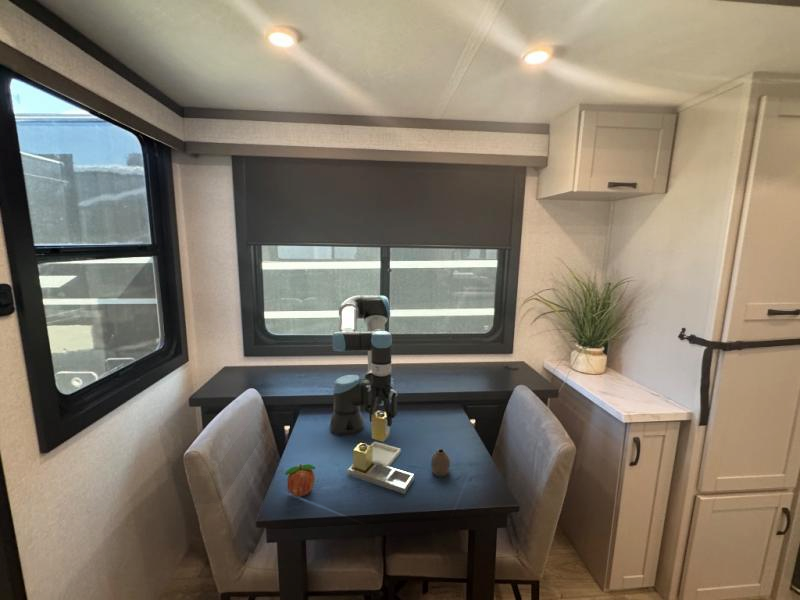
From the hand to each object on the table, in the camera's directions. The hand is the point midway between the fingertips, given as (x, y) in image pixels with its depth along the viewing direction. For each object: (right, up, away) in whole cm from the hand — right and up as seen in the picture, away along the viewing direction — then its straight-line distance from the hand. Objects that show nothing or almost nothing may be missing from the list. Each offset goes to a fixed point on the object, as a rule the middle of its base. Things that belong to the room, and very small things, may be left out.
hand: (380, 431), depth 131 cm
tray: (0, -11, +2) cm, 11 cm away
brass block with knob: (-6, -11, -8) cm, 15 cm away
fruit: (-25, -13, -19) cm, 34 cm away
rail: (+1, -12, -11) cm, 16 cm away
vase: (+22, -13, -7) cm, 26 cm away
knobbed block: (0, -2, 0) cm, 2 cm away
